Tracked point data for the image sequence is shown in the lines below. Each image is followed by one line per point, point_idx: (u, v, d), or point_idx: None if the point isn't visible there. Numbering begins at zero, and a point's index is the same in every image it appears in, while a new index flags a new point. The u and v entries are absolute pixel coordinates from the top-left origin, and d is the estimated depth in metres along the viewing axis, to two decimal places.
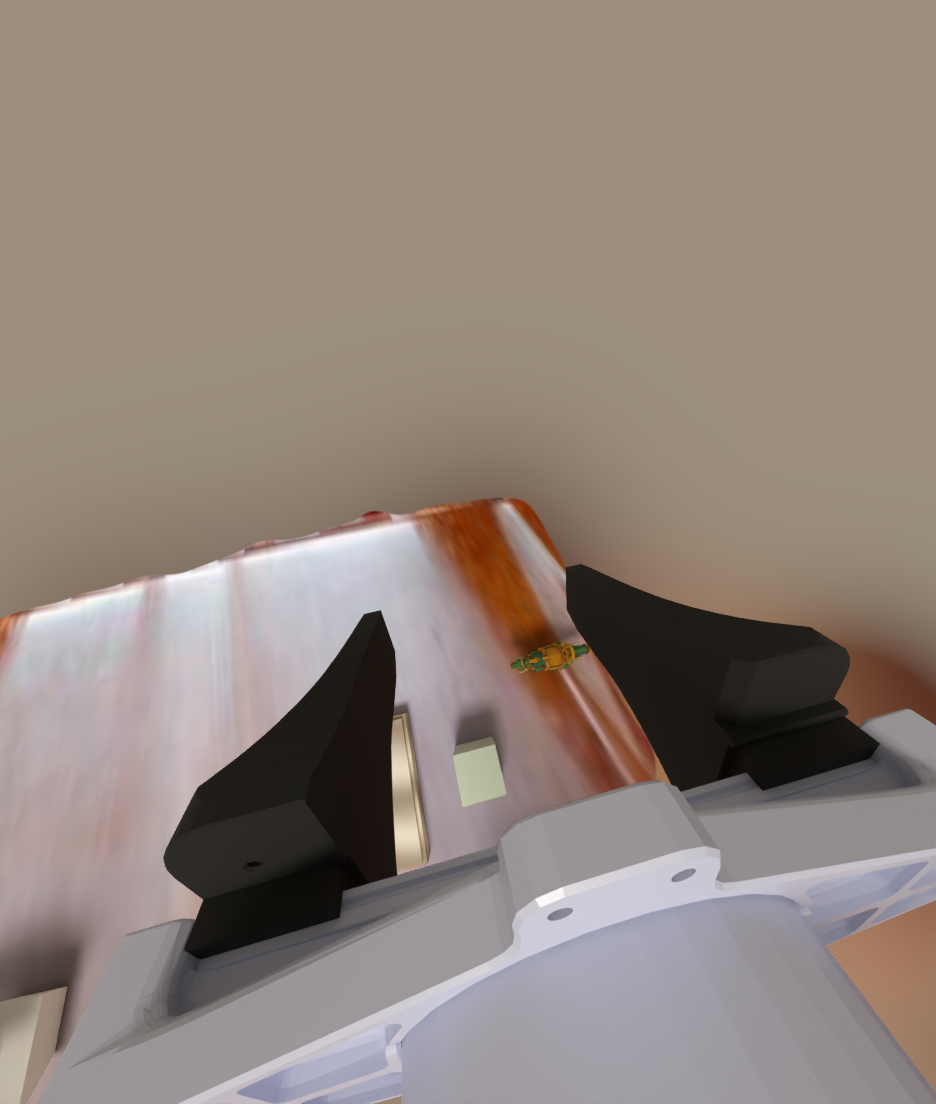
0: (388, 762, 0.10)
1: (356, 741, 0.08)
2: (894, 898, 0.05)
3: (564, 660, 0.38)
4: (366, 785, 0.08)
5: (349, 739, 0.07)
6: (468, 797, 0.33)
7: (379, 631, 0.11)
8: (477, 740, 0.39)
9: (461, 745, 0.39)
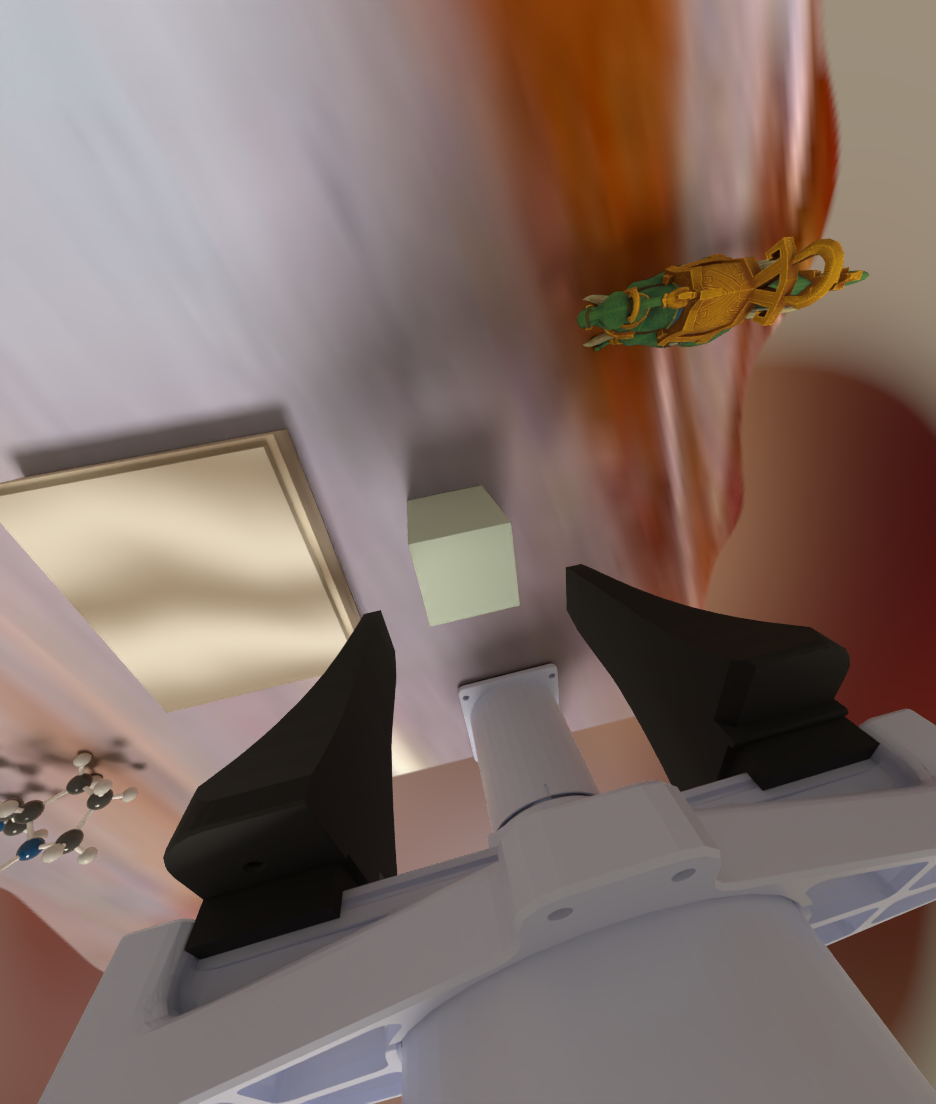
0: (388, 762, 0.10)
1: (356, 741, 0.08)
2: (894, 898, 0.05)
3: (742, 313, 0.13)
4: (366, 785, 0.08)
5: (349, 740, 0.07)
6: (442, 612, 0.16)
7: (379, 631, 0.11)
8: (453, 493, 0.19)
9: (420, 502, 0.18)
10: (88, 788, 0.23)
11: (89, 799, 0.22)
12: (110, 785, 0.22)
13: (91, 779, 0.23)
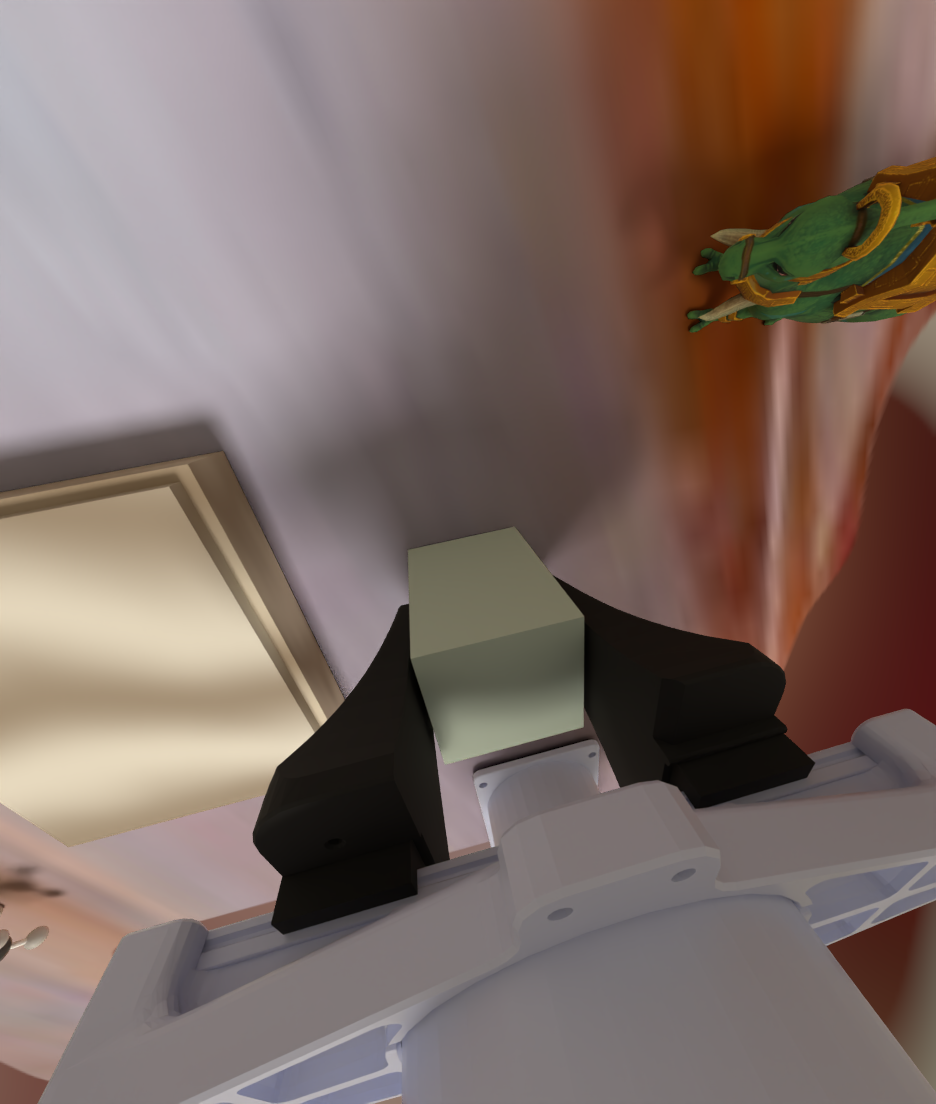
0: (433, 750, 0.10)
1: (414, 726, 0.08)
2: (894, 898, 0.05)
3: None
4: (424, 769, 0.08)
5: (411, 724, 0.07)
6: (465, 746, 0.10)
7: None
8: (475, 539, 0.13)
9: (428, 556, 0.13)
10: None
11: None
12: (6, 939, 0.16)
13: None
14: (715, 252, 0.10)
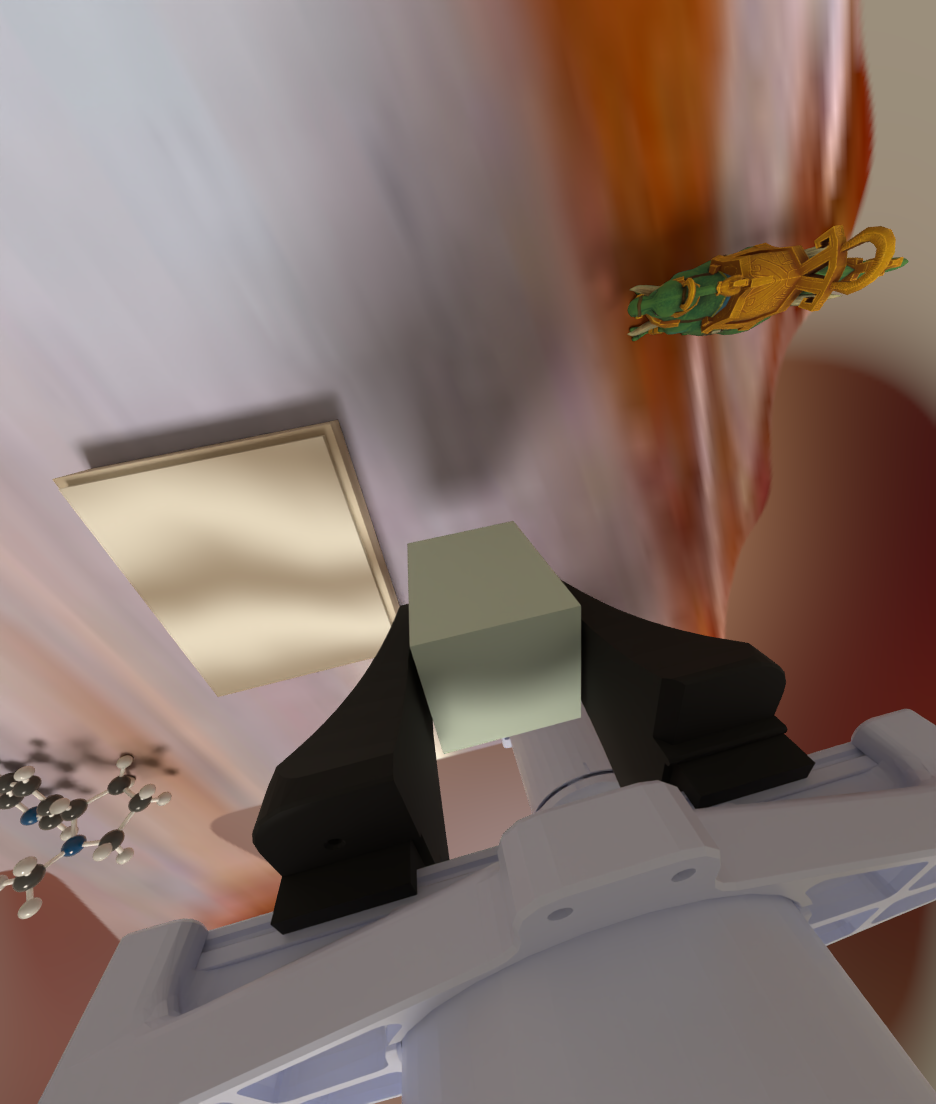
0: (433, 750, 0.10)
1: (414, 726, 0.08)
2: (894, 898, 0.05)
3: (788, 300, 0.13)
4: (423, 769, 0.08)
5: (410, 724, 0.07)
6: (463, 735, 0.10)
7: None
8: (473, 533, 0.13)
9: (427, 549, 0.13)
10: (128, 790, 0.24)
11: (132, 801, 0.23)
12: (154, 790, 0.23)
13: (130, 781, 0.24)
14: None
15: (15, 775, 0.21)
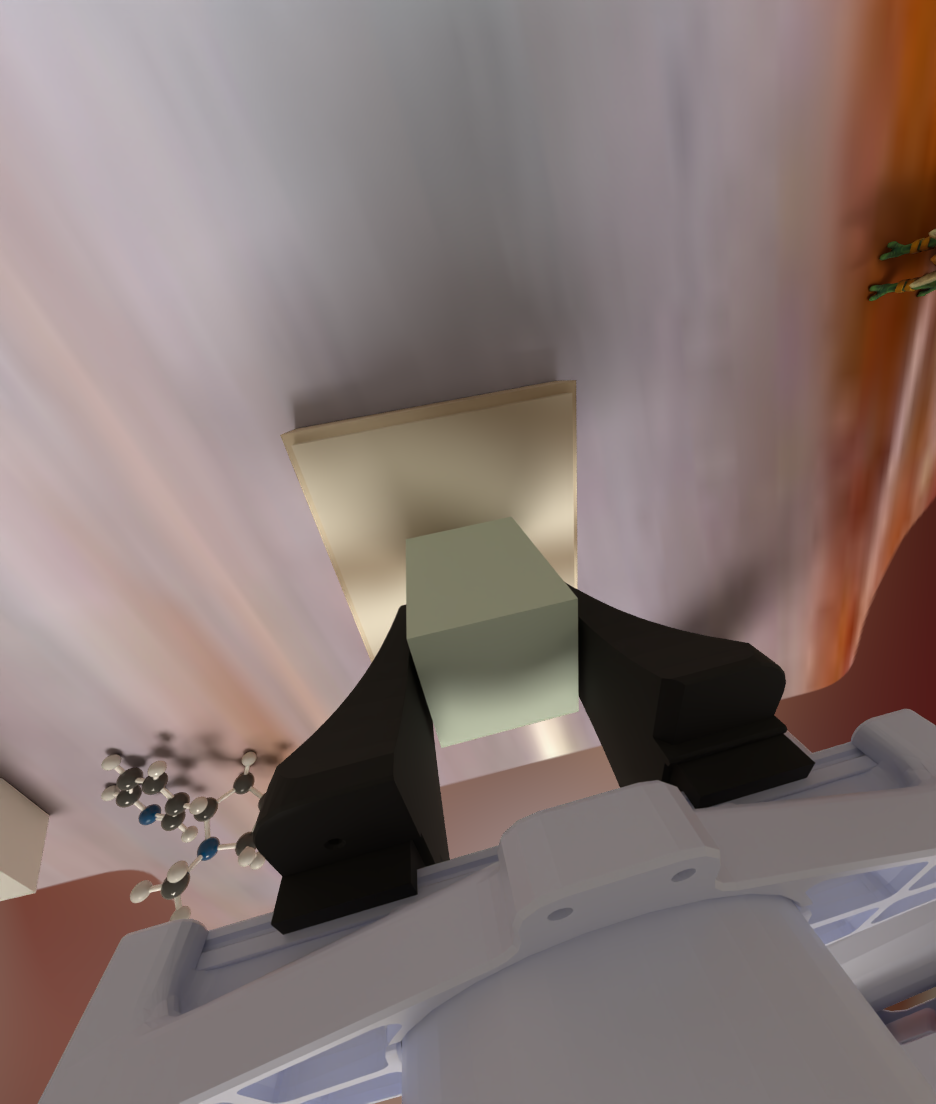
0: (433, 750, 0.10)
1: (414, 726, 0.08)
2: (894, 898, 0.05)
3: None
4: (424, 769, 0.08)
5: (410, 724, 0.07)
6: (461, 729, 0.10)
7: None
8: (472, 529, 0.13)
9: (425, 544, 0.13)
10: (254, 789, 0.22)
11: (262, 801, 0.22)
12: None
13: None
14: (898, 244, 0.15)
15: (150, 771, 0.20)
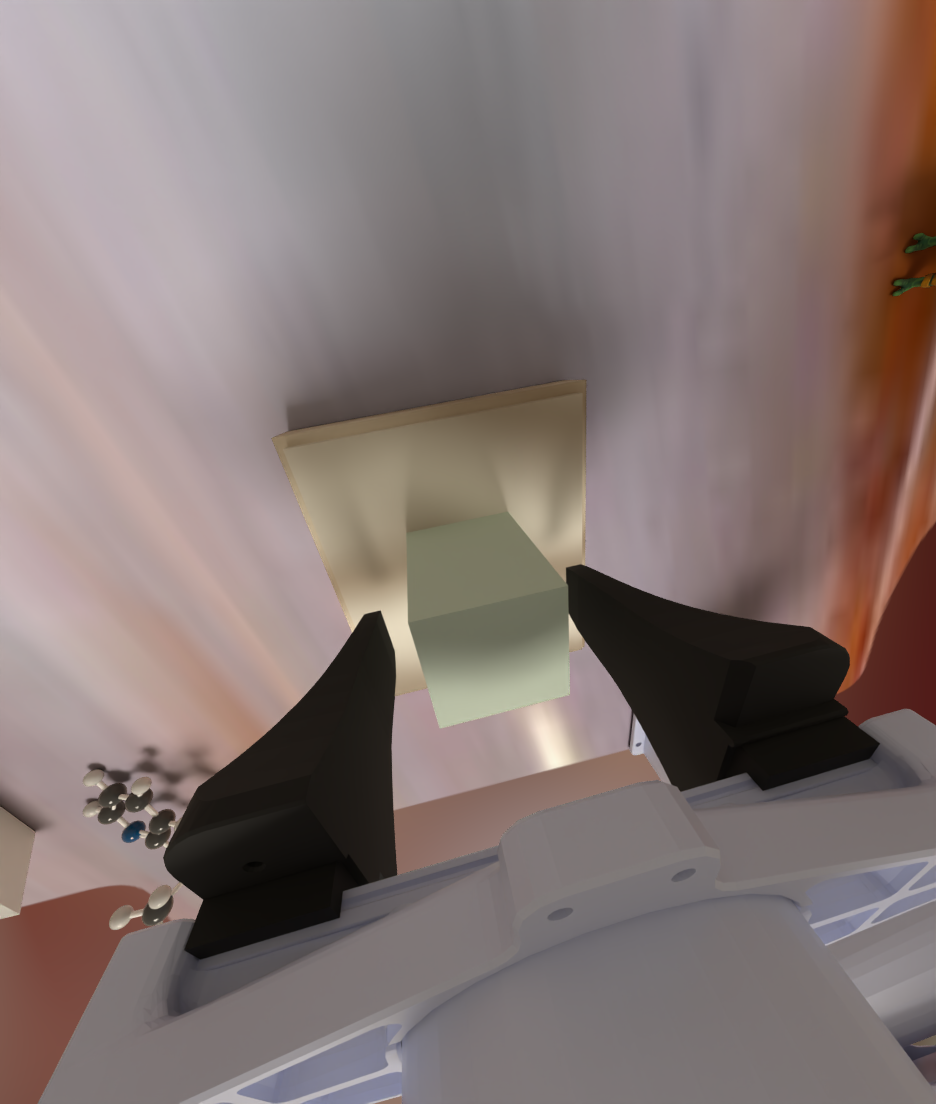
0: (388, 762, 0.10)
1: (356, 741, 0.08)
2: (894, 898, 0.05)
3: None
4: (366, 785, 0.08)
5: (349, 740, 0.07)
6: (459, 710, 0.11)
7: (379, 631, 0.11)
8: (470, 523, 0.14)
9: (425, 538, 0.13)
10: None
11: None
12: None
13: None
14: (925, 236, 0.14)
15: (134, 788, 0.19)
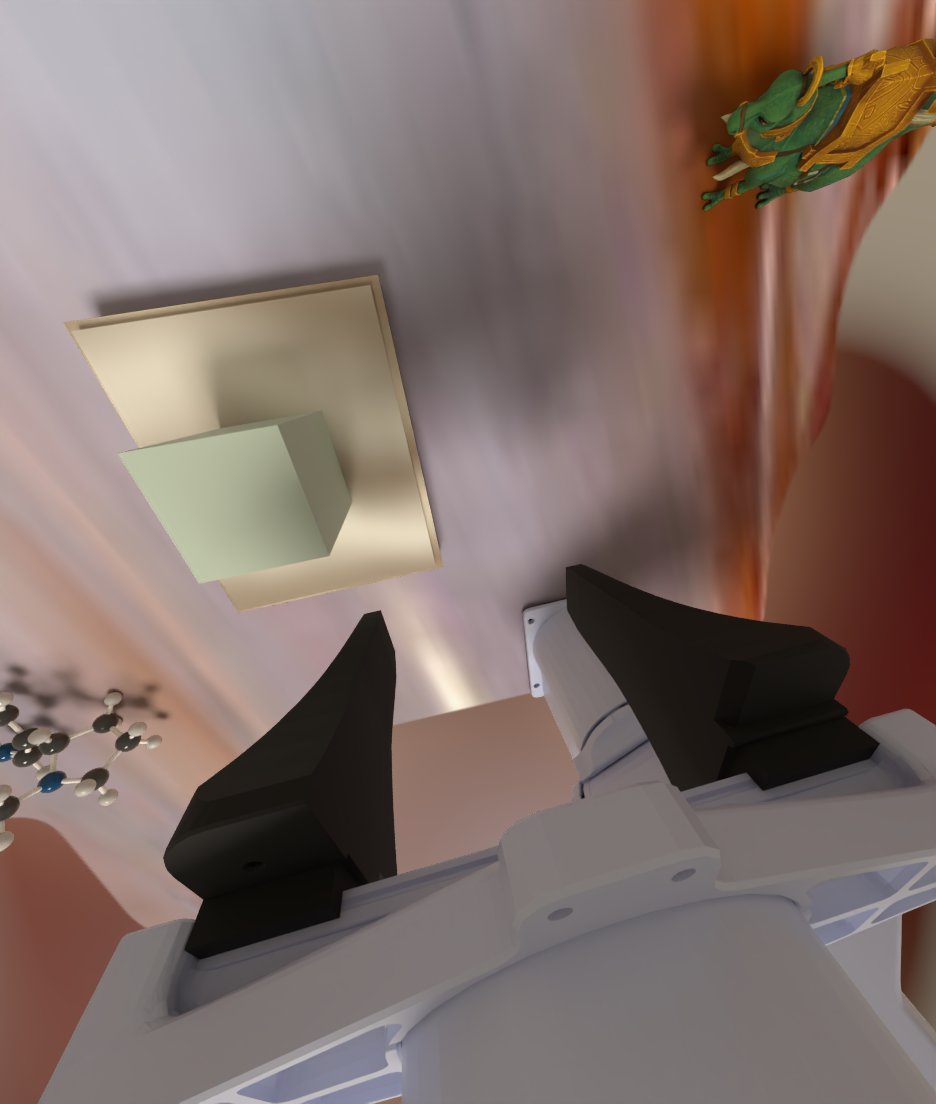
0: (388, 762, 0.10)
1: (356, 741, 0.08)
2: (894, 898, 0.05)
3: (910, 113, 0.12)
4: (366, 785, 0.08)
5: (349, 739, 0.07)
6: (212, 563, 0.11)
7: (379, 631, 0.11)
8: (278, 418, 0.15)
9: (228, 427, 0.14)
10: (115, 729, 0.22)
11: (119, 739, 0.21)
12: (145, 728, 0.21)
13: (118, 720, 0.22)
14: (722, 147, 0.15)
15: None
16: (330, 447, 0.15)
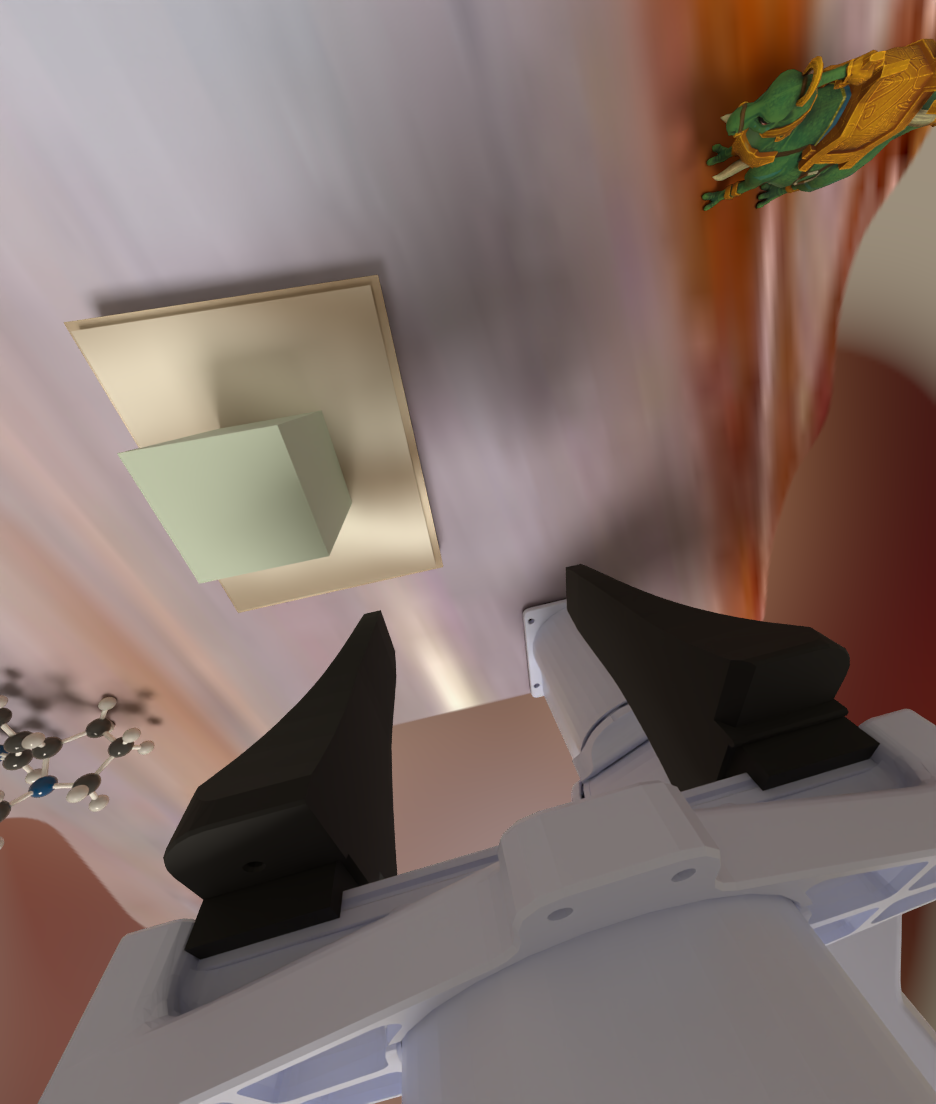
0: (388, 762, 0.10)
1: (356, 741, 0.08)
2: (894, 898, 0.05)
3: (910, 113, 0.12)
4: (366, 785, 0.08)
5: (350, 739, 0.07)
6: (212, 563, 0.11)
7: (379, 631, 0.11)
8: (278, 418, 0.15)
9: (228, 427, 0.14)
10: (108, 734, 0.22)
11: (112, 745, 0.21)
12: (139, 734, 0.22)
13: (111, 725, 0.23)
14: (722, 147, 0.15)
15: None
16: (330, 447, 0.15)
